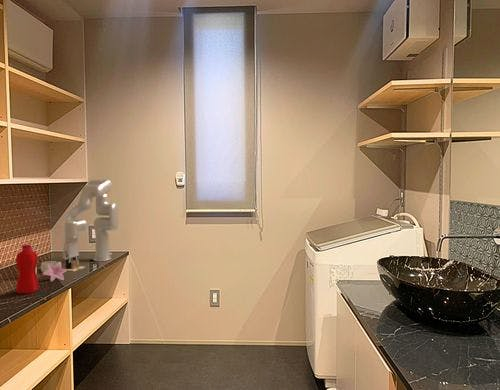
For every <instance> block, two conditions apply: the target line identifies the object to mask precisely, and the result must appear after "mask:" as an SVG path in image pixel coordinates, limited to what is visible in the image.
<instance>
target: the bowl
mask: <svg viewBox="0 0 500 390" xmlns="http://www.w3.org/2000/svg"><path fill="white" fill-rule="evenodd" d="M57 263H58V261H56V260H51V261H42V262H41V264H40V269H41V270H40V271H41V272H42V273H44V272H45V271H47V270H49V266H48V264H50V265H52V266H55V265H56V264H57Z"/></svg>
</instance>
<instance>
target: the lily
mask: <svg viewBox="0 0 500 390" xmlns="http://www.w3.org/2000/svg"><path fill="white" fill-rule="evenodd" d="M48 266H49V270H47V271H45V272H42V274H43V275H45V276H50V282H53V281H55V279H59V280H61V281H64V280H65V277H64V273H66V272H68V271H67V270H65V269H61V268H62V262H61V261H57V264H56V265H55V266H52V265H50V264H48Z"/></svg>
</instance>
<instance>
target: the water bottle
mask: <svg viewBox="0 0 500 390" xmlns="http://www.w3.org/2000/svg"><path fill="white" fill-rule="evenodd" d="M38 260H39V258H38V254H37V252H36V251H35V250H32V244H23V245H22V246H21V251H20V252H19V253H17V255H16V258H15V264H16V266H17V269H18V270H17V271H19V274H18V275H17V276H18V277H17V282H16V286H15V287H16V288H15V290H16V293H17V294H19V295H20V294H33V293H34V292H36V291H38V290H39V280H38V277H37V275H36V265H37V264H38Z"/></svg>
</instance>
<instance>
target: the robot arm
mask: <svg viewBox="0 0 500 390" xmlns="http://www.w3.org/2000/svg"><path fill="white" fill-rule="evenodd" d="M112 188H113V183H112V181H111V180H110V179H91V180H89V181H88V183H87V185H84V186H82V189H81V192H80V195H79V199H78V202H77V204H76V205H75V206H74V207H73V208H72V209H71V210H70V211H69V212H68V214H67V216H66V218H65V222H64V243H63V247H62V248H63V249H62V250H63V251H62V259H63V260H64V261H65V263H66V269H71V263H70V260H79V259H78V258H79V257H80V253H79V252H80V251H79V250H80V249H79V242H78V232H84V231H85V230H87V229H88V226H89V224H88V222H87V221H86V220H84V219H76V217H78V215H79V214H82V213H83V212H85V211H88V210H90V209H91V208H92V203H93V199H94V198H95V213H96V215H98V216H99V217H96V218H95V219H94V221H93V229H94V233H95V234H94V235H95V239H94V240H95V243H94V245H95V257H94V258H93V259H92V260H93V261H95V262H107V261H110V260H111V261H112V257H111V256H112V255H113V253H112V252H110V235H109V233H108V231H115V230H117V229H118V227H119V207H118V205H117V203H114V202H109V197H108V193H109V192H110V191H111V190H112ZM101 216H102V217H101ZM103 216H106V217H103ZM107 216H108V217H107ZM64 261H63V262H64Z"/></svg>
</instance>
